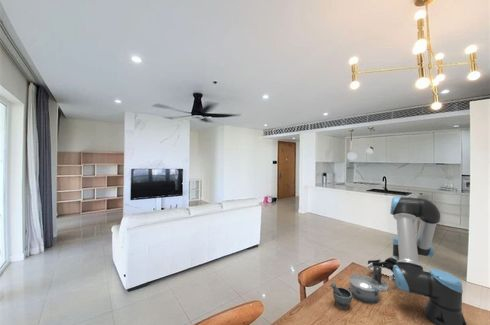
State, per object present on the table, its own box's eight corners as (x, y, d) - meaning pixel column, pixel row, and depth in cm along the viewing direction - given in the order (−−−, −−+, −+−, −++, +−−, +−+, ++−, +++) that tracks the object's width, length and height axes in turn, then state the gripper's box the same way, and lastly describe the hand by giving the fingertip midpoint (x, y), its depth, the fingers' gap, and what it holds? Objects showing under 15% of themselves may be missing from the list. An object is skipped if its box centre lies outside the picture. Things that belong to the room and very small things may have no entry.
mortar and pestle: (347, 299, 120) (347, 278, 120) (355, 311, 111) (355, 289, 110) (327, 298, 121) (327, 278, 120) (333, 310, 111) (333, 288, 111)
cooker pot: (384, 306, 114) (384, 291, 114) (353, 301, 118) (353, 287, 118) (373, 288, 130) (374, 275, 129) (346, 284, 133) (346, 272, 133)
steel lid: (392, 292, 126) (392, 274, 125) (369, 289, 128) (370, 271, 128) (383, 281, 137) (384, 263, 137) (363, 278, 140) (363, 261, 140)
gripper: (414, 277, 135) (400, 288, 124) (374, 260, 156) (358, 269, 145) (415, 265, 135) (400, 276, 123) (374, 251, 156) (358, 258, 144)
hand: (378, 272), depth 134 cm, fingers open, 13 cm apart
